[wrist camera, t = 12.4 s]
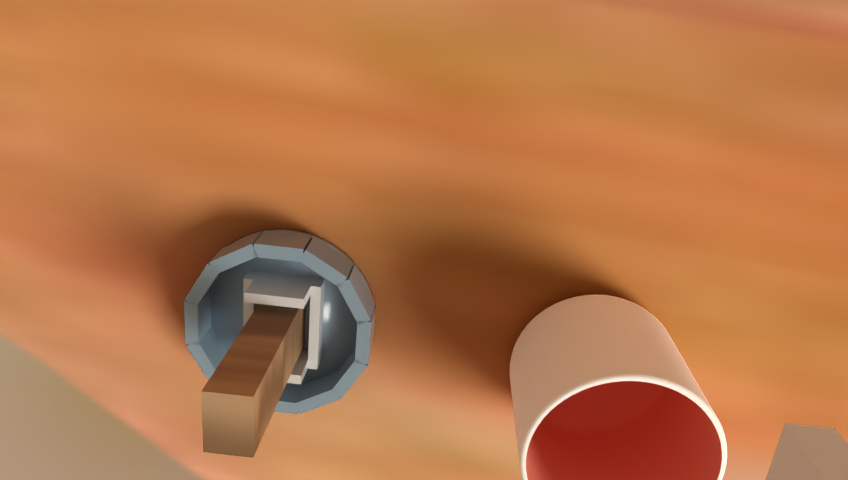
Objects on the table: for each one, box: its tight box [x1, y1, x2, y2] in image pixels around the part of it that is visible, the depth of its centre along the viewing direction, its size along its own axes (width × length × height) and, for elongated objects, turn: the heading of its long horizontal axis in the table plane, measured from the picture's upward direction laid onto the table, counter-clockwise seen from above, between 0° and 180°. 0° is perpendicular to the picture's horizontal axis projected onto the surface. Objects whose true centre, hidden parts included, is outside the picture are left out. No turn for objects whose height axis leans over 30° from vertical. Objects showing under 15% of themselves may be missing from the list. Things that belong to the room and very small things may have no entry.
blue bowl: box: [184, 229, 376, 414], centre depth 41 cm, size 11×11×4 cm
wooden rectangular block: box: [202, 304, 306, 458], centre depth 37 cm, size 3×2×11 cm
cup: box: [510, 294, 727, 480], centre depth 38 cm, size 10×10×10 cm
